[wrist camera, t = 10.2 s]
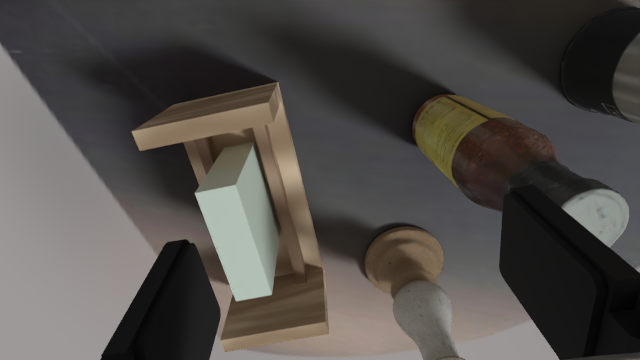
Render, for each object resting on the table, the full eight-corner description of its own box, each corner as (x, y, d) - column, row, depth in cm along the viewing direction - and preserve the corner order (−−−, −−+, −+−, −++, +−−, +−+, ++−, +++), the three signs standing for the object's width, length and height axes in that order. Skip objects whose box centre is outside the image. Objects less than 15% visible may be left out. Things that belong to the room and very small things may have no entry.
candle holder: (454, 265, 43) (564, 455, 24) (388, 300, 45) (445, 502, 26) (418, 211, 40) (513, 379, 21) (349, 250, 42) (381, 438, 23)
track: (173, 104, 35) (131, 131, 26) (278, 81, 34) (268, 102, 26) (241, 288, 43) (225, 351, 35) (325, 272, 43) (328, 333, 35)
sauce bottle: (412, 158, 38) (509, 292, 19) (406, 97, 35) (512, 184, 17) (477, 146, 37) (638, 271, 19) (476, 84, 35) (660, 158, 17)
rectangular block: (219, 148, 36) (187, 194, 26) (254, 141, 35) (235, 184, 26) (248, 236, 39) (230, 302, 30) (280, 230, 39) (271, 294, 30)
